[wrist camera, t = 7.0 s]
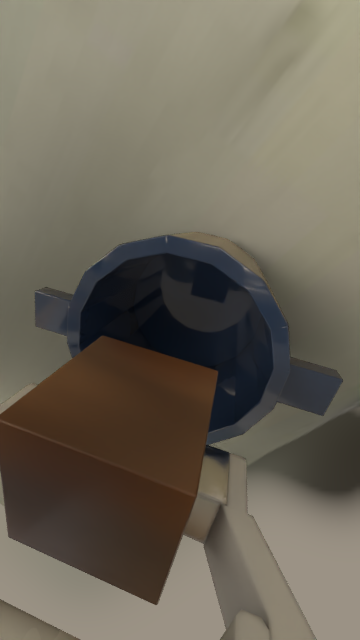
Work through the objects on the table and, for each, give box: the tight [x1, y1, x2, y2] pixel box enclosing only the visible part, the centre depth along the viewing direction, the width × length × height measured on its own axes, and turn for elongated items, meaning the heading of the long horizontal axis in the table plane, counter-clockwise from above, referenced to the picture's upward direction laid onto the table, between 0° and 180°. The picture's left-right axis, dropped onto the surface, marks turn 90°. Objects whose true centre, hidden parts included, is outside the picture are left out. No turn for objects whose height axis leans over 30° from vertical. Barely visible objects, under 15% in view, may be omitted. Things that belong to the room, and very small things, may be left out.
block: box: [0, 336, 218, 605], centre depth 8 cm, size 4×4×4 cm
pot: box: [35, 232, 343, 445], centre depth 17 cm, size 12×17×8 cm
